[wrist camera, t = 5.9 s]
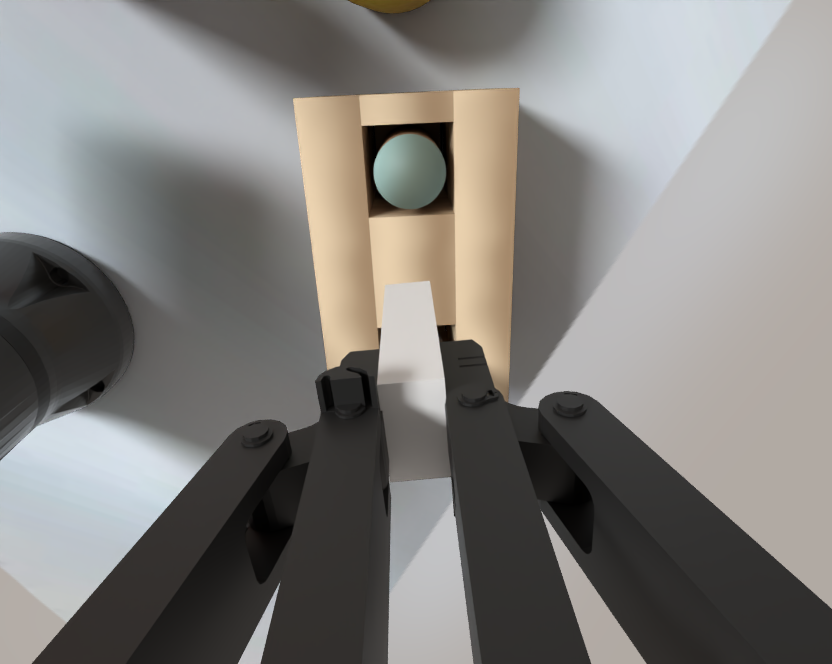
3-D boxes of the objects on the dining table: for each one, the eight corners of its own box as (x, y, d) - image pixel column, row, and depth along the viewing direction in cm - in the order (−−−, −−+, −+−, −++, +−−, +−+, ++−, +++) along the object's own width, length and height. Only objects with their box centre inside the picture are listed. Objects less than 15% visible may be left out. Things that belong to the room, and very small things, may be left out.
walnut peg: (382, 185, 38) (376, 210, 30) (378, 125, 37) (370, 135, 28) (437, 182, 38) (446, 207, 30) (436, 122, 37) (445, 132, 28)
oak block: (347, 351, 45) (333, 416, 36) (320, 96, 37) (292, 98, 28) (487, 344, 45) (507, 408, 36) (491, 88, 37) (519, 88, 28)
